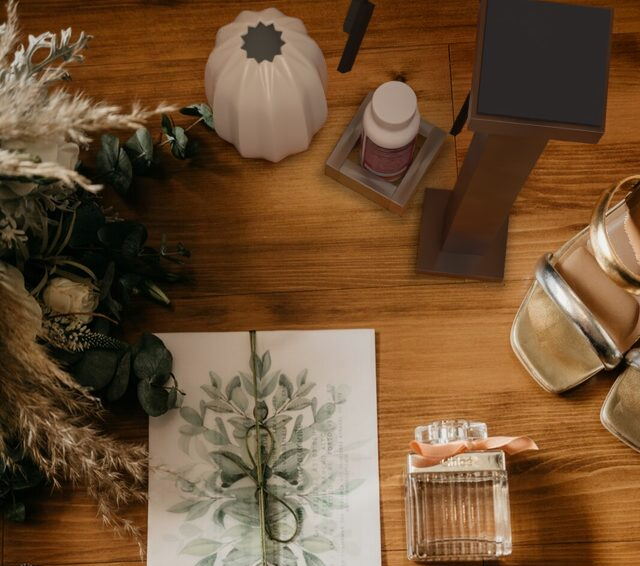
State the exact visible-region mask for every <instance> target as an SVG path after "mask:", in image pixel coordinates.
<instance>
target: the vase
mask: <svg viewBox="0 0 640 566" xmlns="http://www.w3.org/2000/svg"><path fill="white" fill-rule="evenodd" d="M203 77H204V79H203V84H204V93H205V98H206V100H207V102H208V105H209V107H210V109H211V110H212V118H213V119H212V120H213V126H214V130H215V132H216V135H217V136H218V137H219V138H221V139H222V140H224V141H226V142H228V143H229V144H232V145H233V146H234V147H235V149H236V150H237V152H238V153H239V155H240V156H241V157H242V158H244V159H247V158H248V159H263V160H266V161H269V162H273V163H278V162H280V161H282V160H283V159H285V158H287V157H288V156H291V155H295V154H298V153H301V152H305V151H308V149H309V147H310V145H311V142H312V139H313V137H314V135H315V134H316V133H318V132H319V131H320V130H321V129H322V128H323V127H324V126H325V125H326V123H327V120H328V113H329V111H328V110H329V109H328V103H327V97H326V96H327V92H328V87H329V72H328V67H327V63H326V59H325V56H324V53H323V50H322V49H321V48H320V45H318V43H317V42H316V41H315V40H314V39H313V38H312V37H311V36H310V35H309V34H308V30H307V27H306V24H305V23H304V22H303V21H302V19H300V18H298V17H293V16H288V15H286V14H284V13H283V12H282V11H281V10H279V9H278V8H276V7H272V6H271V7H268V8H265V9H262V10H257V11H256V10H247V9H245V10H241V11H240V12H239V14H237V16H236V17H235V18H234V20H232V22H230V23H227V24H225V25H223V26H221V27H220V28H219V29H218V30H217V32H216V34H215V41H214V47H213V49H212V50H211V52H210V53H209V56H208V59H207V61H206V63H205V68H204V76H203Z"/></svg>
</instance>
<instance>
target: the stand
mask: <svg viewBox="0 0 640 566" xmlns="http://www.w3.org/2000/svg"><path fill="white" fill-rule="evenodd" d="M374 93H375V90H374V91H373V90H372V89H370V90H369V91H368V93H367V95H366V96H365V98H364V99H363V101H362V103H361V104H360V105H359V107H358V109H357V111H356V112H355V113H354V116H353V117H352V119H351V120H350V122H349V124H348V125H347V127H346V129H345V130H344V132H343V133H342V135H341V137H340V138H339V140H338V141H337V143H336V145H335V146H334V148H333V150H332V151H331V153H330V155H329V157H328V158H327V160H326V161H325V162H324V166H325V168H324V175H326V176H327V177H328V178H331V179H333V180H334V181H336V182H338V183H340V184H342V185H343V186H345V187H346V188H349V189H350V190H352V191H354V192H356V193H357V194H359V195H361V196H363V197H365V198H366V199H368V200H370V201H372V202H374V203H375V204H377V205H379V206H381V207H383V209H386V210H388V211H390V212H391V213H393V214H395V215H397V216H398V217H400V218H402V217H403V216H404V214H405V212H406V210H407V208H408V207H409V205H410V203H411V202H412V200H413V199H414V197H415V195H416V193H417V192H418V190H419V188H420V187H421V185H422V183H423V182H424V180H425V178H426V177H427V175H428V173H429V172H430V170H431V168H432V166H433V165H434V163H435V162H436V160H437V159H438V156H439V155H440V153H441V152H442V150H443V149H444V146H445V145H446V142H447V138H448V135H449V132H448V131H446V130H444V129H442V128H441V127H439V126H437V125H435V124H433V123H432V122H430V121H428V120H426V119H424V118H423V117H421V116H420V126H419V130H418V135H417V139H416V143H415V146H417V147H419V148H420V149H419V150H418V152H417V154H416V156H415V157H414V159H413V160H412V162H411V164H410V167H409V169H408V171H407V172H406V173H405V174H404V175H403V176H402V180H401V181H400V182H399V184H398V186H397V185H395V184H393V183H392V182H388V181H386V180H384V179H383V178H381V177H379V176H377V175H375V174H374V173H372V172H370V171H368V170H366V169H365V168H363V167H361V165H360V164H358V163H356V162H354V161H352V160H353V158H354V156H355V154H357V151H358V149H360V144H361V134H362V124H363V116H364V112H365V109H366V107H367V105H368V104H369V102H370V101H371V100H372V98H373V95H374Z"/></svg>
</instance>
